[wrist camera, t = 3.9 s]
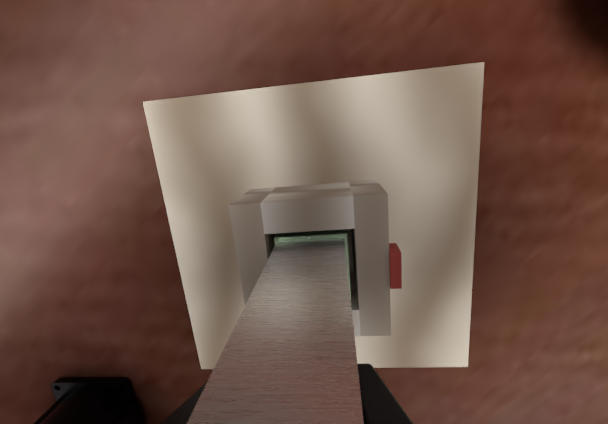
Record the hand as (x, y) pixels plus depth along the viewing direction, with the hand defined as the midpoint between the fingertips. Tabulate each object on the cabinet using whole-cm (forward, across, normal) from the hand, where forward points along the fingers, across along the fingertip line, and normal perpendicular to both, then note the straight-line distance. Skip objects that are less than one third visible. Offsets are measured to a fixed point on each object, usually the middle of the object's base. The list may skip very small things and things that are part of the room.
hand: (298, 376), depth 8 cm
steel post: (+8, 0, 0) cm, 8 cm away
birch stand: (+11, 0, 0) cm, 11 cm away
